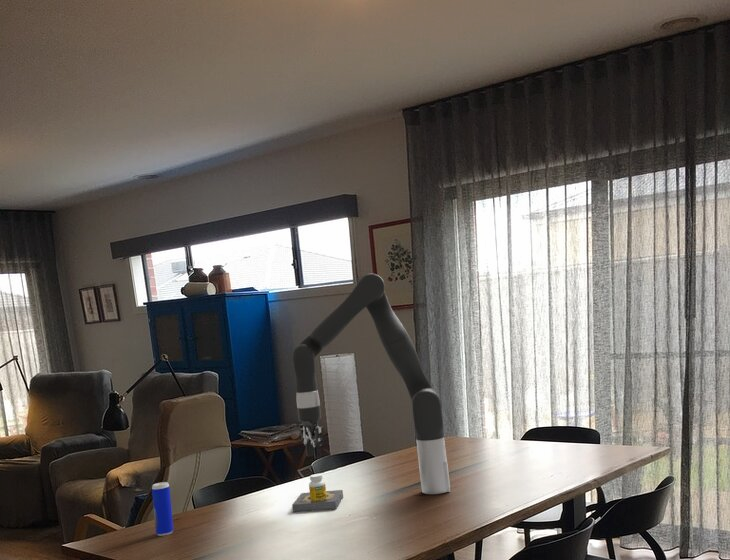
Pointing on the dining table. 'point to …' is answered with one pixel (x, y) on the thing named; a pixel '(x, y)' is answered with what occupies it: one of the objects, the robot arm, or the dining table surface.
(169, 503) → the beverage can
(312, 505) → the mount plate
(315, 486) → the supplement bottle
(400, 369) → the robot arm
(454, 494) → the dining table surface
